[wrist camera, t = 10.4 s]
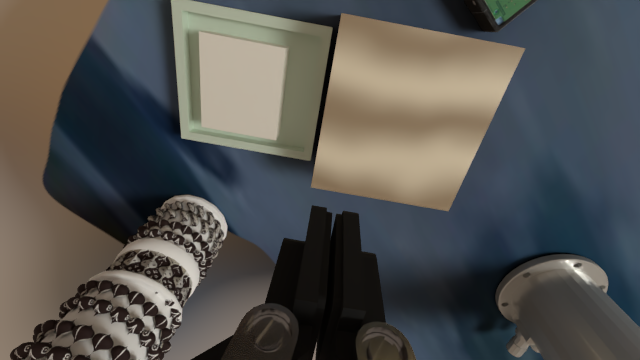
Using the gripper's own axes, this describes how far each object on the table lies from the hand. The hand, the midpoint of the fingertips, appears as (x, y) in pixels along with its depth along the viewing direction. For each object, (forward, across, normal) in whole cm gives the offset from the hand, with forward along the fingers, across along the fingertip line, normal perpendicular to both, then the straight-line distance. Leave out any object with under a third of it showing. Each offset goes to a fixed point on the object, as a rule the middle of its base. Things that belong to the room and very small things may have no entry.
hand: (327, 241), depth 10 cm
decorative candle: (+20, +15, +17) cm, 30 cm away
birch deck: (+20, -5, -1) cm, 20 cm away
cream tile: (+17, +9, -1) cm, 19 cm away
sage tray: (+19, +8, -1) cm, 21 cm away
